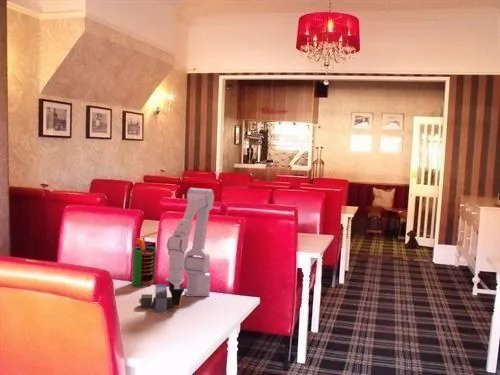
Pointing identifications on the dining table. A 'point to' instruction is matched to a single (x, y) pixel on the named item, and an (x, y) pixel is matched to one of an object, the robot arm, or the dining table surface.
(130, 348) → the dining table surface
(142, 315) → the dining table surface
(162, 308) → the housing
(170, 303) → the plug
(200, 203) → the robot arm
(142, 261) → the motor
